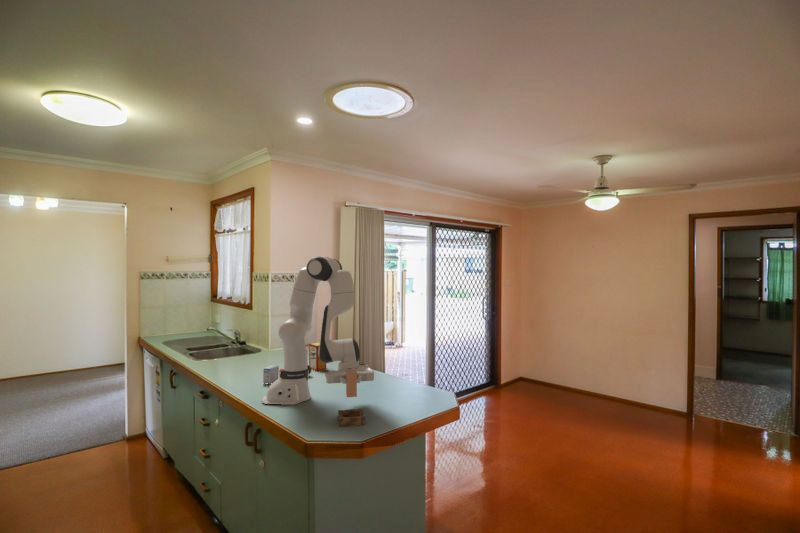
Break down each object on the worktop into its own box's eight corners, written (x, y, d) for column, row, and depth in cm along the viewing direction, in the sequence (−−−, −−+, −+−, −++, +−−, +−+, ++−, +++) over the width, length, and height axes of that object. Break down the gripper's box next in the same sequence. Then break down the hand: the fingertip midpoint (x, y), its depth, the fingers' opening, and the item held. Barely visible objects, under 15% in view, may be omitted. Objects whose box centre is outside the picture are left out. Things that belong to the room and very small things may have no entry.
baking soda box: (309, 368, 244) (309, 343, 244) (318, 366, 248) (318, 341, 249) (317, 371, 237) (317, 345, 237) (326, 369, 242) (326, 343, 242)
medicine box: (271, 380, 218) (271, 365, 218) (278, 381, 216) (278, 365, 216) (263, 384, 210) (263, 368, 210) (270, 385, 209) (270, 368, 209)
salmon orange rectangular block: (346, 397, 156) (346, 372, 156) (346, 394, 160) (346, 370, 160) (356, 396, 157) (356, 372, 157) (355, 393, 161) (355, 369, 161)
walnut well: (339, 426, 153) (339, 419, 153) (338, 417, 162) (338, 410, 162) (364, 424, 155) (364, 417, 155) (361, 415, 164) (361, 408, 164)
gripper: (325, 366, 169) (325, 375, 156) (371, 364, 173) (375, 372, 160) (325, 381, 169) (325, 390, 156) (371, 378, 173) (376, 387, 160)
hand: (351, 381), depth 158 cm, fingers closed on salmon orange rectangular block, 4 cm apart
